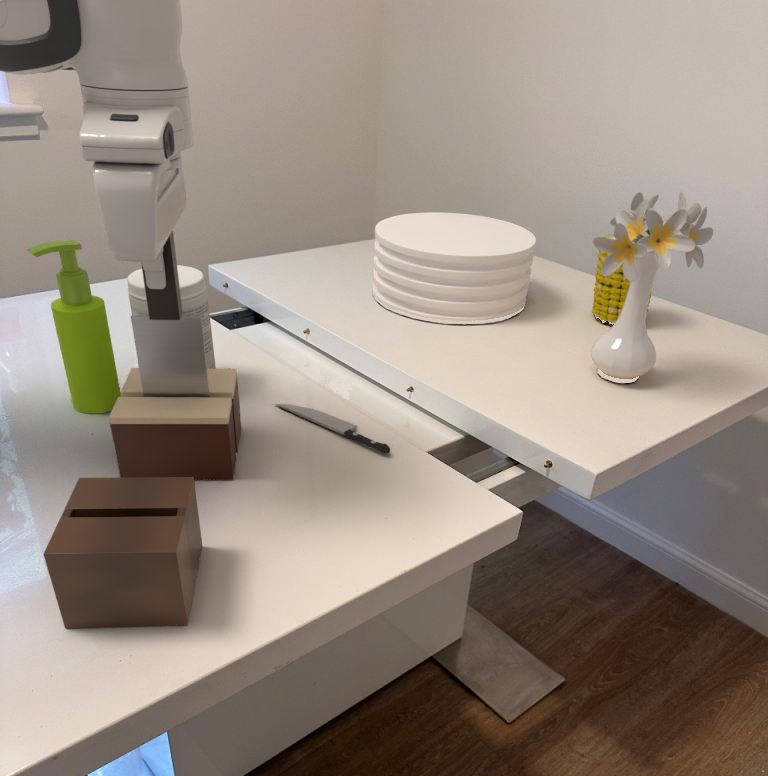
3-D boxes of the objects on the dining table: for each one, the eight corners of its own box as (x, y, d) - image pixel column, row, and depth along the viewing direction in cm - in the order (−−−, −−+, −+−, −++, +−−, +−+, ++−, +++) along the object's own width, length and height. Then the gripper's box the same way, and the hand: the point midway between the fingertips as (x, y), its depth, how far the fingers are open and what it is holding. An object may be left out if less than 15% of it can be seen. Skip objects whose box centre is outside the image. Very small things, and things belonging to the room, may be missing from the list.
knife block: (64, 628, 60) (43, 554, 55) (95, 547, 68) (79, 477, 64) (187, 625, 61) (176, 551, 56) (202, 546, 69) (193, 476, 65)
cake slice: (121, 481, 78) (108, 417, 73) (129, 458, 81) (118, 396, 77) (233, 480, 79) (227, 417, 74) (236, 458, 83) (231, 397, 78)
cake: (131, 453, 82) (120, 391, 78) (141, 427, 87) (131, 367, 83) (237, 453, 84) (232, 392, 79) (241, 427, 89) (236, 368, 84)
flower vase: (553, 386, 103) (591, 201, 88) (598, 347, 115) (638, 179, 101) (642, 414, 97) (698, 220, 82) (679, 369, 110) (734, 195, 95)
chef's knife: (290, 399, 96) (273, 405, 94) (290, 391, 95) (273, 397, 93) (402, 449, 86) (386, 457, 84) (403, 440, 86) (387, 448, 84)
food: (646, 339, 123) (586, 335, 125) (642, 302, 131) (586, 299, 133) (668, 257, 112) (602, 253, 114) (663, 221, 120) (601, 219, 121)
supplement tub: (210, 366, 102) (200, 261, 94) (222, 395, 95) (212, 285, 87) (140, 373, 99) (123, 266, 91) (146, 403, 92) (128, 290, 84)
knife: (143, 409, 78) (113, 225, 67) (146, 400, 79) (118, 220, 68) (209, 409, 78) (190, 227, 67) (211, 400, 80) (193, 222, 69)
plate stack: (410, 264, 147) (414, 205, 140) (543, 290, 137) (554, 227, 131) (345, 304, 126) (346, 236, 119) (496, 337, 117) (507, 266, 110)
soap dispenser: (58, 402, 91) (19, 240, 80) (110, 388, 95) (81, 232, 84) (75, 420, 88) (38, 254, 76) (129, 405, 92) (101, 245, 80)
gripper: (126, 106, 71) (146, 250, 79) (72, 140, 54) (104, 317, 62) (192, 109, 71) (205, 251, 80) (157, 144, 55) (178, 318, 63)
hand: (160, 281), depth 71 cm, fingers closed on knife, 2 cm apart
